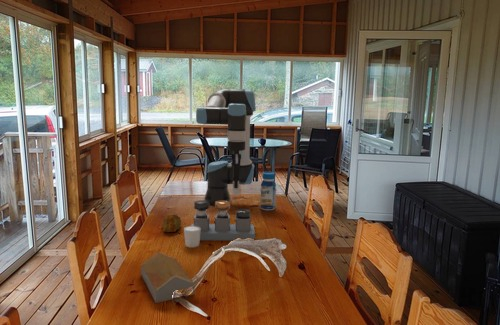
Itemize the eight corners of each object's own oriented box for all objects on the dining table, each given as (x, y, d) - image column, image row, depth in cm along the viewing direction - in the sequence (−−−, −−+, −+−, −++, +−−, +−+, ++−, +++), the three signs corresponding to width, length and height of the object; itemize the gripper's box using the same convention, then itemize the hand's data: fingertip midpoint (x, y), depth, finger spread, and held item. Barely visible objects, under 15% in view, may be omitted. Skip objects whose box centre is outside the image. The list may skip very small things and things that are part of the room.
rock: (160, 238, 177) (162, 218, 183) (178, 239, 179) (180, 220, 185) (163, 227, 168) (165, 207, 174) (182, 229, 171) (184, 209, 176)
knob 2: (235, 224, 173) (235, 208, 172) (249, 225, 174) (250, 209, 173) (235, 229, 167) (236, 213, 166) (250, 229, 168) (250, 213, 166)
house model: (195, 295, 119) (195, 272, 118) (154, 304, 114) (153, 280, 113) (176, 269, 137) (176, 249, 136) (140, 276, 131) (139, 255, 130)
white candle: (194, 240, 164) (194, 224, 163) (204, 245, 159) (204, 228, 158) (180, 244, 159) (180, 228, 158) (190, 249, 154) (190, 232, 153)
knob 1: (194, 216, 172) (194, 200, 171) (209, 216, 172) (209, 200, 171) (193, 221, 166) (193, 204, 164) (208, 221, 166) (208, 204, 165)
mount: (191, 230, 176) (191, 212, 174) (253, 230, 177) (253, 212, 176) (188, 240, 164) (188, 220, 163) (255, 240, 165) (255, 221, 164)
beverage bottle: (278, 209, 212) (279, 173, 209) (266, 211, 207) (267, 174, 204) (269, 205, 219) (270, 170, 216) (257, 207, 214) (257, 172, 211)
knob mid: (215, 216, 172) (215, 200, 171) (229, 216, 173) (230, 200, 171) (214, 221, 166) (214, 204, 165) (229, 221, 166) (230, 204, 165)
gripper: (227, 138, 170) (226, 191, 174) (227, 142, 157) (227, 198, 161) (244, 139, 171) (243, 191, 175) (246, 142, 158) (245, 198, 162)
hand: (235, 194), depth 168 cm, fingers closed
